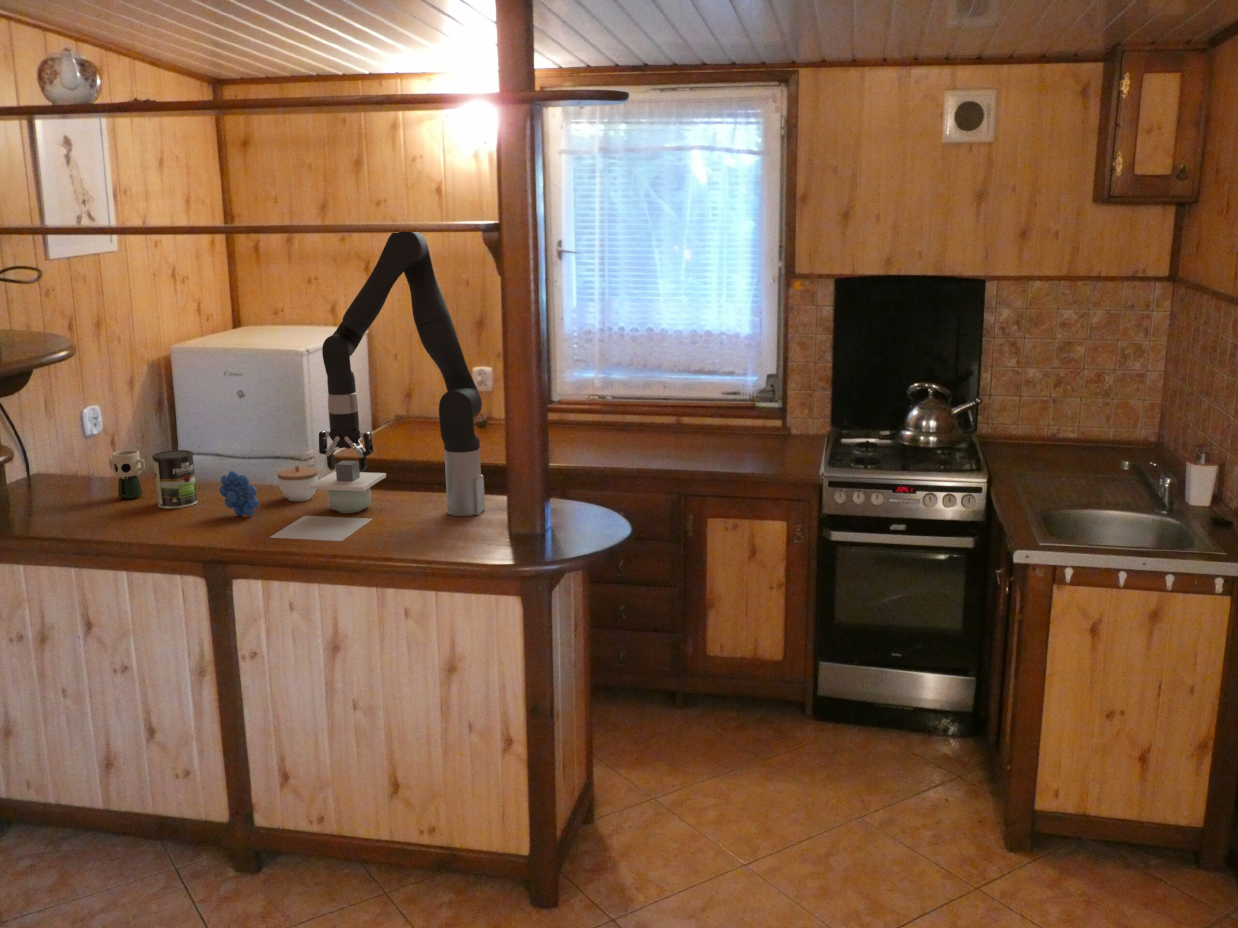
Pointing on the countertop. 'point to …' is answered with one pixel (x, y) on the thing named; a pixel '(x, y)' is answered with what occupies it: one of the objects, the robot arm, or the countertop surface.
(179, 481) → the coffee can
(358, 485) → the lid
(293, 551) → the countertop surface
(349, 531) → the mat
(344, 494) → the bowl
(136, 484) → the character mug
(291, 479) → the lidded jar
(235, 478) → the grapes
